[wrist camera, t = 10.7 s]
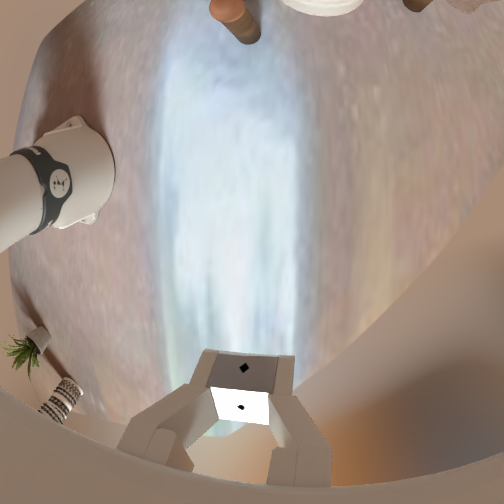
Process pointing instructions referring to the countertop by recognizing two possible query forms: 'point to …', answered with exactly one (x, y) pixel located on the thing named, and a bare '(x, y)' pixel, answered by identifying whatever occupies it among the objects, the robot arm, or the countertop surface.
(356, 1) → the honey pot
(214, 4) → the post
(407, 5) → the post
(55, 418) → the decorative candle
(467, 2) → the beer glass
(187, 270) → the countertop surface
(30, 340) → the house plant
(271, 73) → the countertop surface
